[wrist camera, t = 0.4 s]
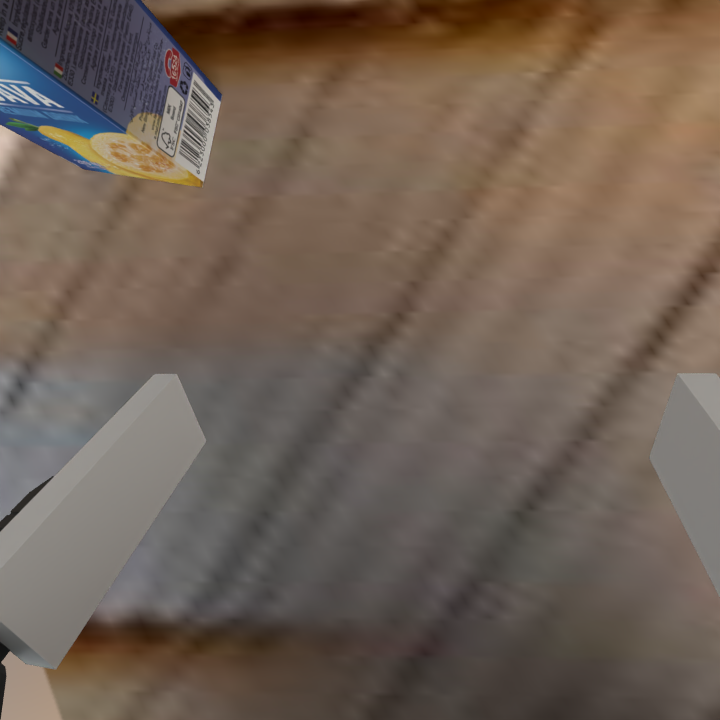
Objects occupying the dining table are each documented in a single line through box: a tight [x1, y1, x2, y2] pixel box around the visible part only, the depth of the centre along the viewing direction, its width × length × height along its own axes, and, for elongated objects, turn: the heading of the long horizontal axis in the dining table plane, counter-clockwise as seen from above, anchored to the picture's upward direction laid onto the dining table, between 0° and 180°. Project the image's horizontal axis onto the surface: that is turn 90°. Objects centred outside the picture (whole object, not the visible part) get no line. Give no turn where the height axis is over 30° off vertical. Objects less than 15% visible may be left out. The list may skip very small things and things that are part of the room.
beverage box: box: [0, 0, 222, 188], centre depth 22 cm, size 7×11×22 cm, turn 77°
